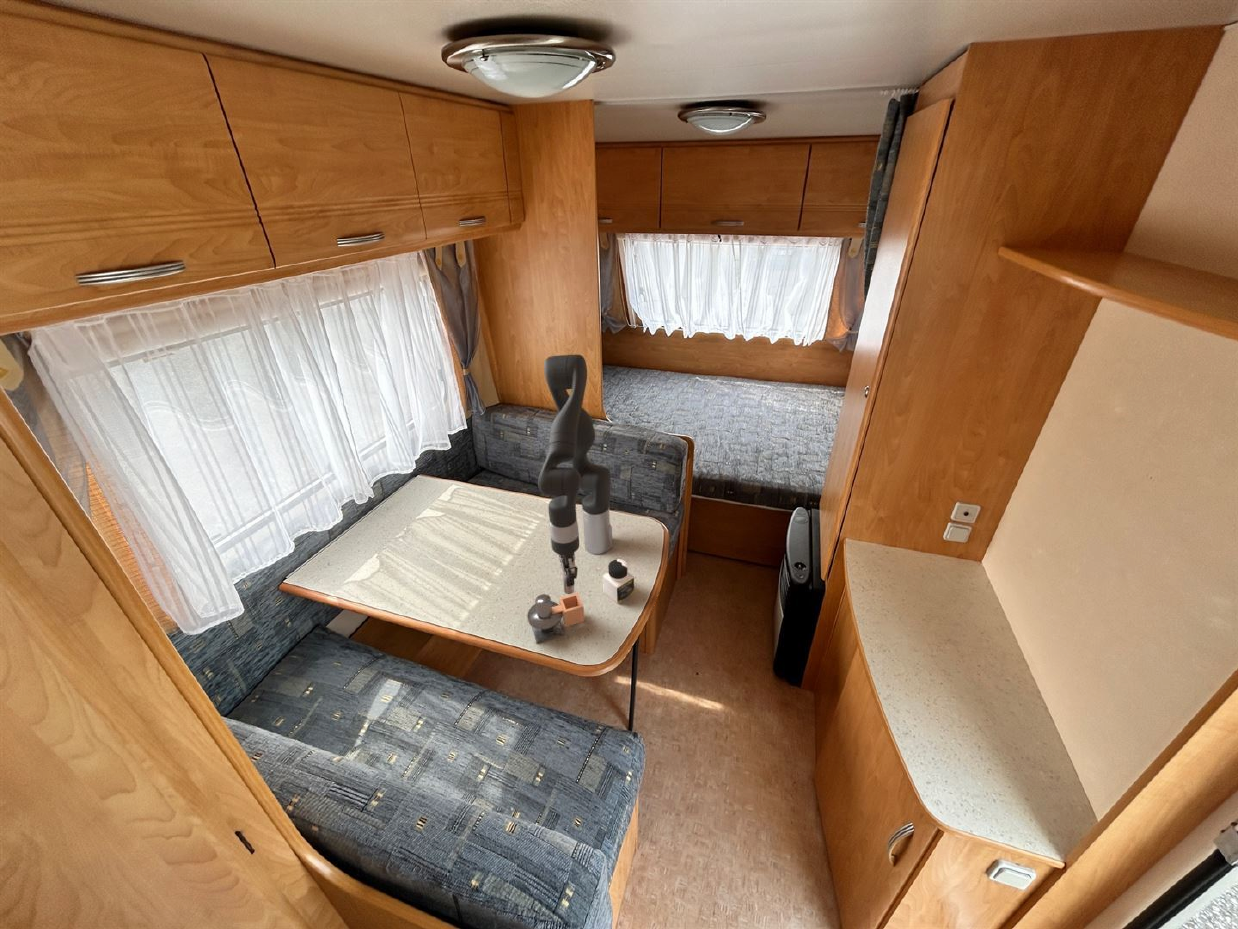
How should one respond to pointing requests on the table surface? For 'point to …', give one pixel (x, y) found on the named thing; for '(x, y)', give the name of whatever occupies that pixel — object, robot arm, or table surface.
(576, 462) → the robot arm
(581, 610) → the bracket
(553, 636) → the grey ball joystick
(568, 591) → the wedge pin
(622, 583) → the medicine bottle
